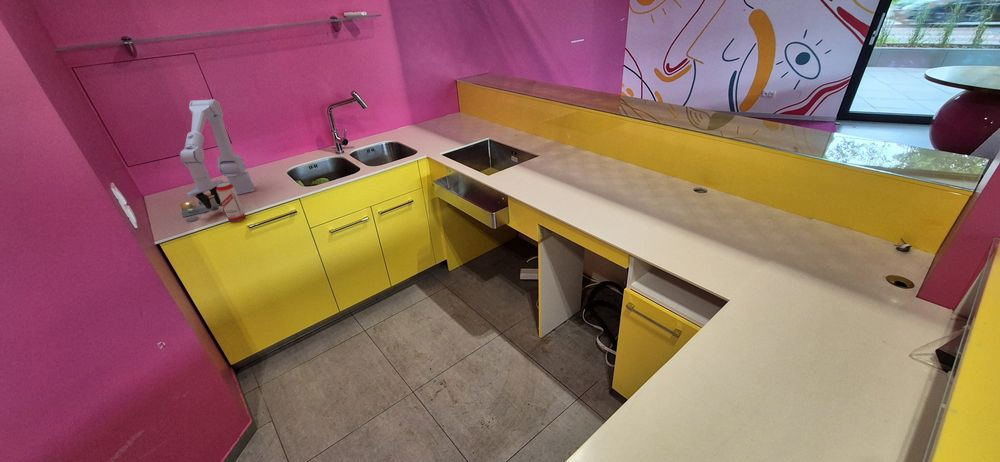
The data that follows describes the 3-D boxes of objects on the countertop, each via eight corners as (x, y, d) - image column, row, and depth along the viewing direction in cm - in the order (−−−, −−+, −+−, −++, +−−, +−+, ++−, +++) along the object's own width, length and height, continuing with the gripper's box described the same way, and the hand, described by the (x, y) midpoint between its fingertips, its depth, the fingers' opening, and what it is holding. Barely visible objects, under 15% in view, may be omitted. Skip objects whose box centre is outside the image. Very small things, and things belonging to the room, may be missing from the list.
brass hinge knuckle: (210, 204, 190) (206, 196, 188) (210, 210, 184) (206, 202, 182) (184, 209, 186) (180, 201, 184) (183, 216, 180) (179, 208, 178)
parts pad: (198, 216, 181) (198, 215, 180) (198, 220, 177) (198, 219, 177) (186, 218, 179) (186, 218, 178) (186, 223, 175) (185, 222, 175)
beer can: (233, 216, 179) (219, 181, 171) (248, 215, 180) (235, 180, 172) (226, 223, 174) (211, 187, 166) (241, 221, 174) (227, 186, 166)
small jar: (220, 206, 183) (214, 192, 180) (220, 209, 180) (214, 195, 177) (209, 208, 181) (203, 194, 178) (209, 212, 178) (203, 197, 175)
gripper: (211, 169, 180) (223, 197, 187) (177, 182, 169) (191, 211, 176) (222, 171, 178) (233, 200, 184) (188, 184, 166) (201, 214, 173)
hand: (213, 206), depth 180 cm, fingers closed on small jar, 4 cm apart
